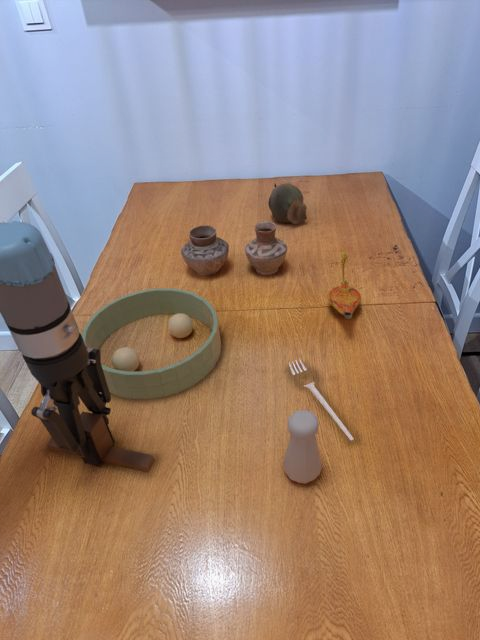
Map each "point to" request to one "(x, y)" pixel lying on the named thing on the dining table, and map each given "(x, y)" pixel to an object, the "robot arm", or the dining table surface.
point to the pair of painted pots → (212, 251)
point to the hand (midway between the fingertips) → (99, 452)
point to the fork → (321, 399)
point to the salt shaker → (302, 447)
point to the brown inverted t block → (108, 445)
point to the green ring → (163, 378)
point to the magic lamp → (344, 295)
